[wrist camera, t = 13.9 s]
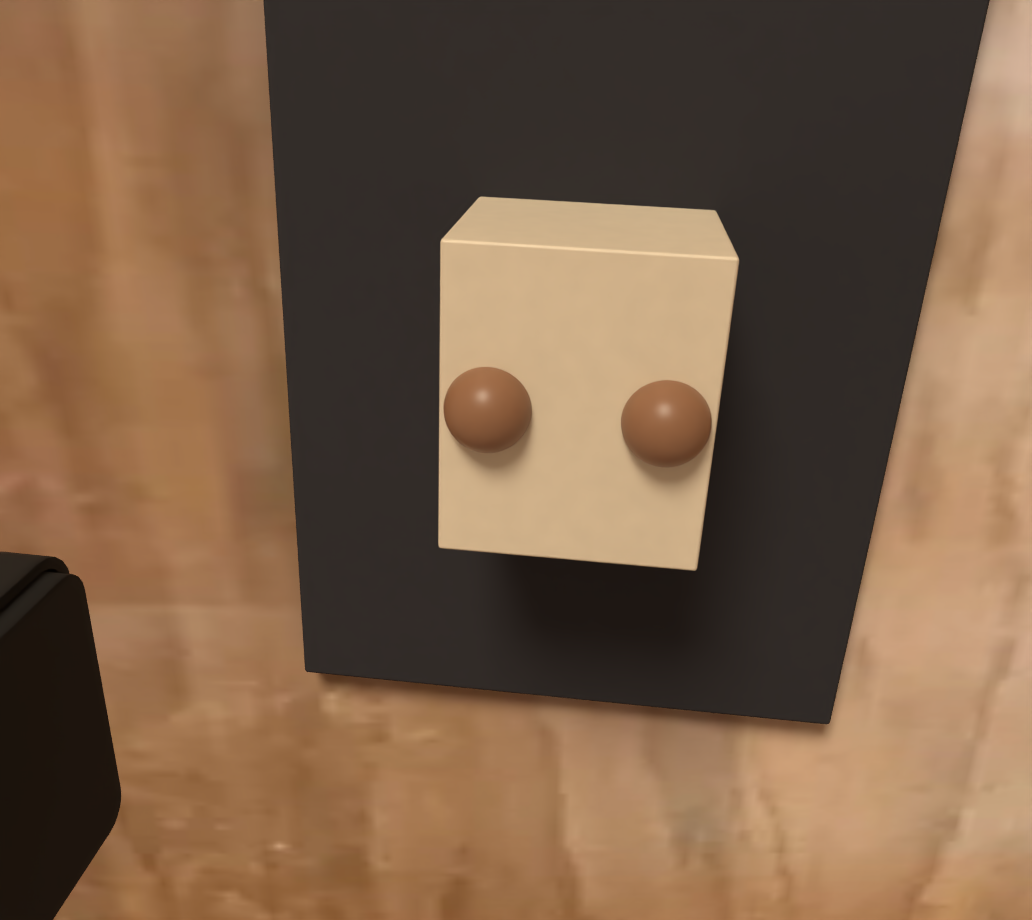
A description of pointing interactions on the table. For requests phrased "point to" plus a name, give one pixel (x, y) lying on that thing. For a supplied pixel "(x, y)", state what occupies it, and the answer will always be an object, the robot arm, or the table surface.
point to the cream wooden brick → (581, 379)
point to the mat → (622, 181)
